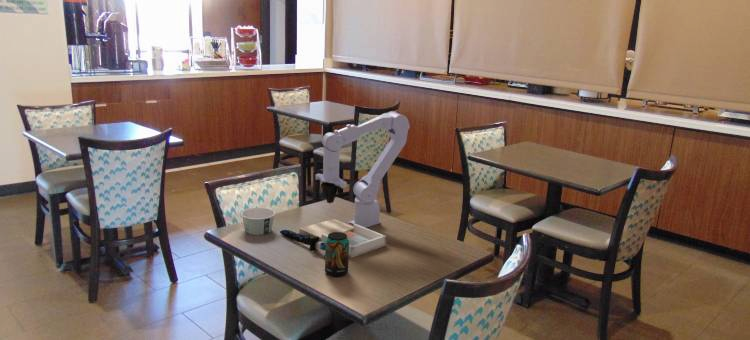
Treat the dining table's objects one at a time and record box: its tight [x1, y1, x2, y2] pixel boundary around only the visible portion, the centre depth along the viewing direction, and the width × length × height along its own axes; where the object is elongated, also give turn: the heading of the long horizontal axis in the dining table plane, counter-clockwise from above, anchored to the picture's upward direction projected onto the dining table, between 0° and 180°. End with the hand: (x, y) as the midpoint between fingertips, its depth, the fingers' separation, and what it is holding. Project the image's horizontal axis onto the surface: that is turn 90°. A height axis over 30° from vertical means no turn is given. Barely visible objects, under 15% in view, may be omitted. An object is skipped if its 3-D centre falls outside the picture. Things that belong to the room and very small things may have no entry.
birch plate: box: [298, 218, 354, 242], centre depth 201 cm, size 16×12×2 cm
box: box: [321, 224, 387, 258], centre depth 192 cm, size 16×15×4 cm
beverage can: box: [324, 232, 350, 278], centre depth 169 cm, size 7×7×12 cm
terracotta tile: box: [345, 231, 357, 240], centre depth 194 cm, size 4×4×2 cm
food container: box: [240, 207, 276, 236], centre depth 201 cm, size 12×12×6 cm
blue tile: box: [349, 235, 367, 246], centre depth 191 cm, size 4×4×2 cm
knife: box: [279, 229, 326, 251], centre depth 188 cm, size 31×3×4 cm, turn 43°
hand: (330, 202), depth 205 cm, fingers closed
